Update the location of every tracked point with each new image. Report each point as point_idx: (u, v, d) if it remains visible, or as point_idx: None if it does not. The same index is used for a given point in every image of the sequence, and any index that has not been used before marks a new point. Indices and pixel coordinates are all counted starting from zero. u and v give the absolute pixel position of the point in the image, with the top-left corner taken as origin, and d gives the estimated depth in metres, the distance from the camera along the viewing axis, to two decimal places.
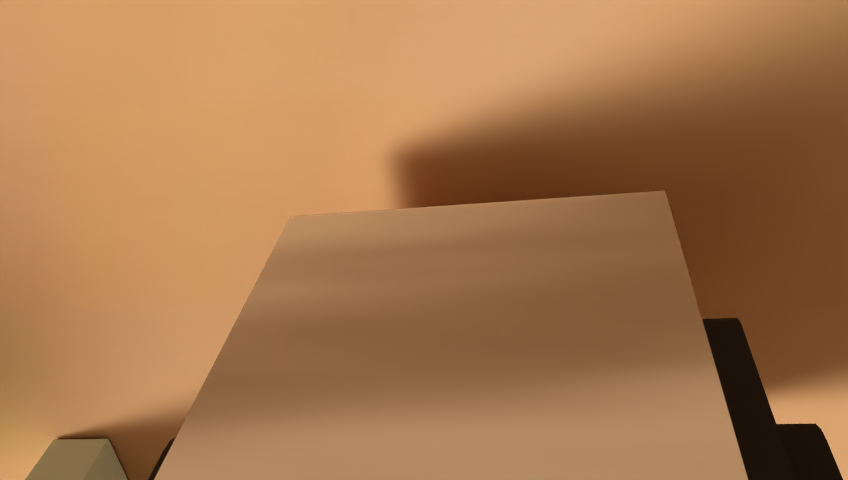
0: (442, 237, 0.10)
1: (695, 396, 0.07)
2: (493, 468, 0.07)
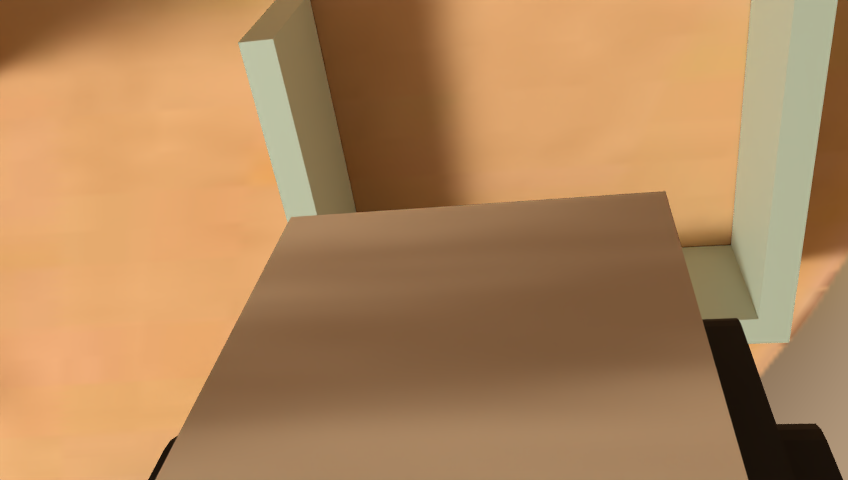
0: (442, 238, 0.10)
1: (695, 397, 0.07)
2: (494, 467, 0.07)
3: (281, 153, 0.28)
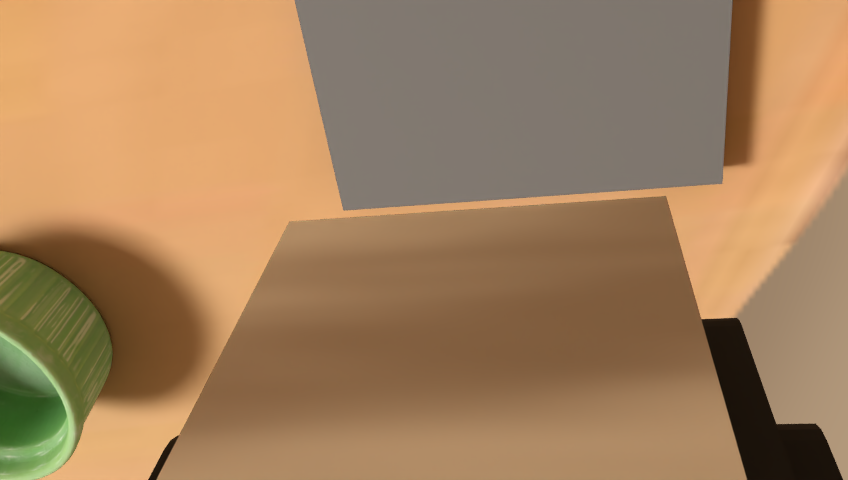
0: (442, 243, 0.10)
1: (697, 406, 0.07)
2: (494, 478, 0.07)
3: None
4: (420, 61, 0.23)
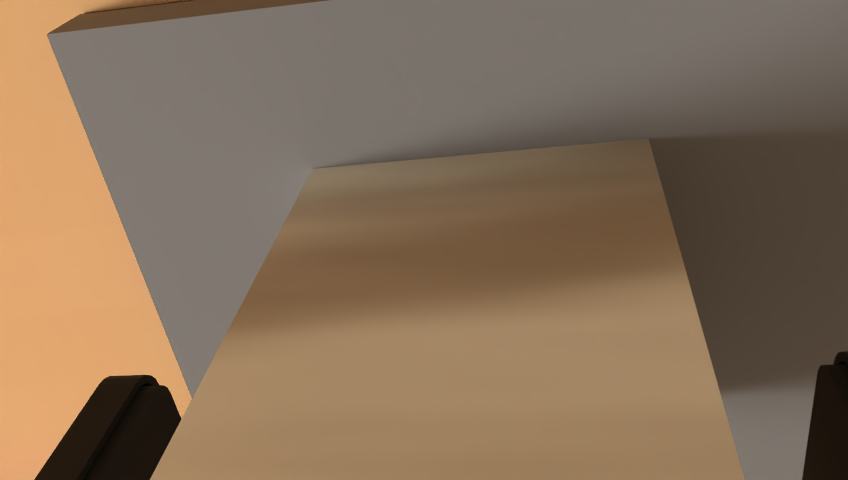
0: (449, 181, 0.11)
1: (668, 295, 0.08)
2: (496, 352, 0.08)
3: None
4: None
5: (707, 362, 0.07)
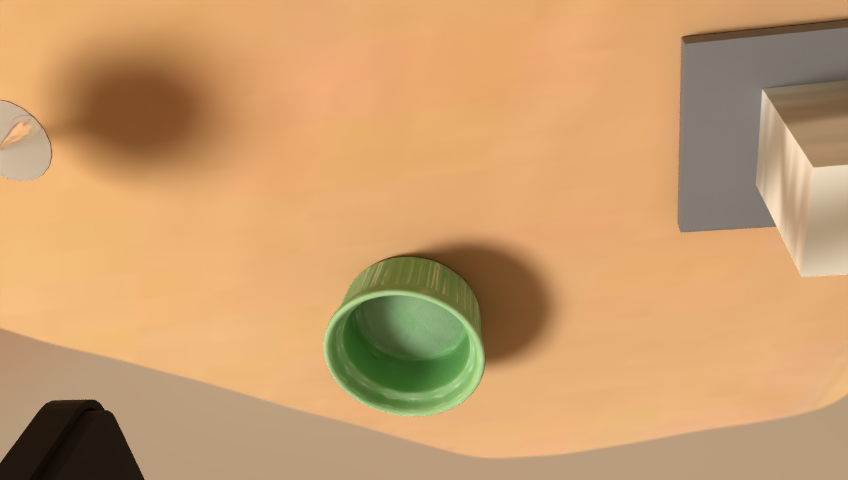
0: (819, 90, 0.35)
1: None
2: None
3: None
4: (755, 142, 0.38)
5: None
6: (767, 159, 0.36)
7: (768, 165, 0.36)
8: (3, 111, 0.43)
